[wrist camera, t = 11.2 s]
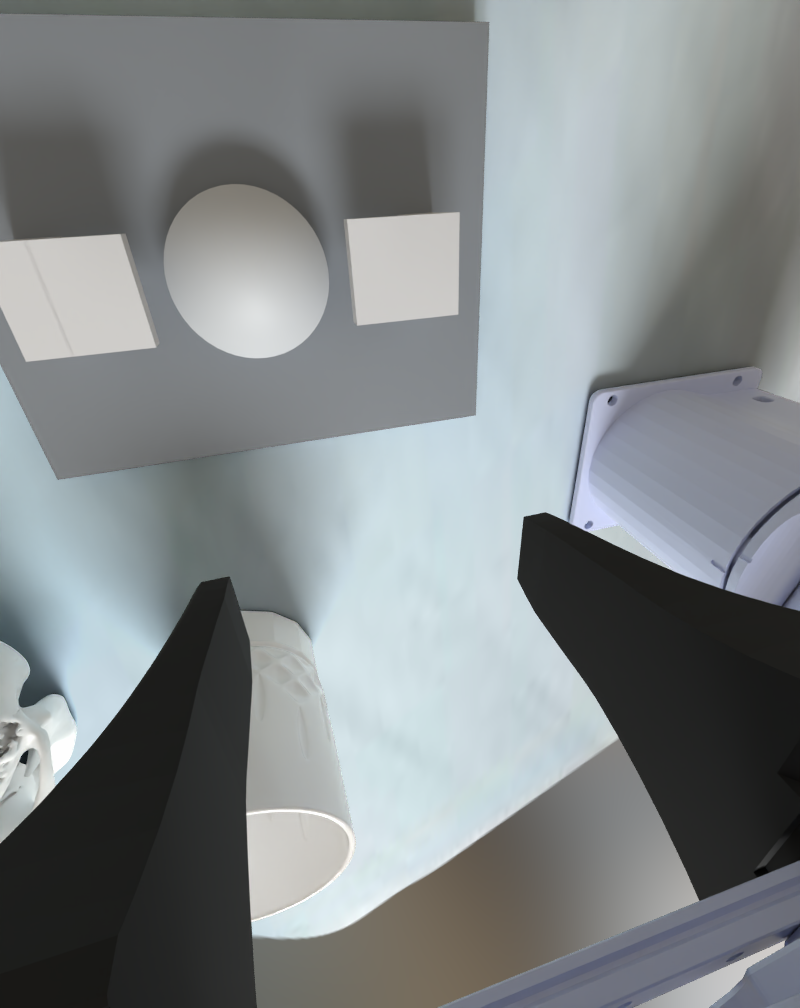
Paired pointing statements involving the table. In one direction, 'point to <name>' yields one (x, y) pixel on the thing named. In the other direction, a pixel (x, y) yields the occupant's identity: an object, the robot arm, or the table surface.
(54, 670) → the table surface
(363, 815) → the table surface
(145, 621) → the table surface
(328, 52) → the post base
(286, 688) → the white cup
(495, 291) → the table surface
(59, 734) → the skull bowl
